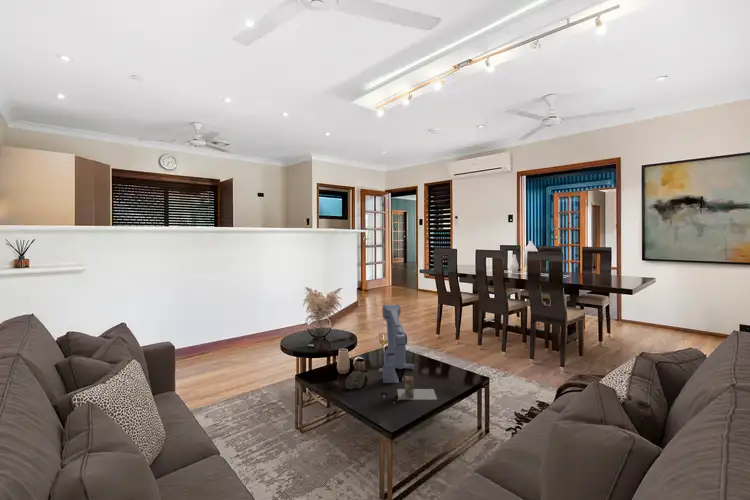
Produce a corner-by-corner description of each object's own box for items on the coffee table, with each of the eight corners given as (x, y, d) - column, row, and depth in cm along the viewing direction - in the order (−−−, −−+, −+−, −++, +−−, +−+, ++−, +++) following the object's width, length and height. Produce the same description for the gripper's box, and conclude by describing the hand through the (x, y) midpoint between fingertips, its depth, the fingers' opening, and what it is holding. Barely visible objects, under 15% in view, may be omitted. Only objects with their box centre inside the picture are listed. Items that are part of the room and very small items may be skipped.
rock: (348, 390, 195) (352, 371, 197) (343, 387, 201) (347, 368, 203) (367, 392, 201) (371, 373, 203) (361, 389, 207) (365, 371, 209)
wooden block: (405, 397, 188) (406, 380, 188) (405, 392, 194) (405, 376, 194) (413, 397, 188) (413, 380, 188) (412, 392, 194) (412, 376, 194)
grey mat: (398, 400, 186) (398, 399, 186) (397, 389, 198) (397, 389, 198) (437, 400, 186) (437, 399, 186) (433, 389, 198) (433, 389, 198)
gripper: (386, 359, 186) (386, 384, 187) (414, 359, 186) (414, 385, 187) (386, 354, 193) (386, 379, 194) (413, 354, 193) (413, 379, 194)
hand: (400, 381), depth 191 cm, fingers closed
